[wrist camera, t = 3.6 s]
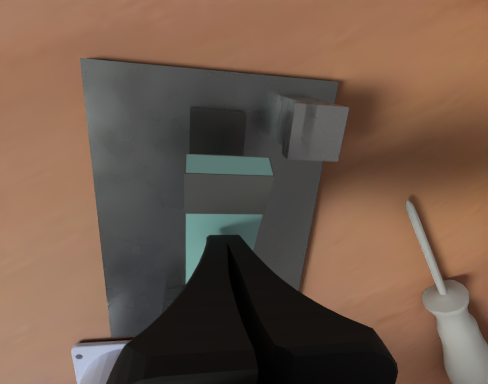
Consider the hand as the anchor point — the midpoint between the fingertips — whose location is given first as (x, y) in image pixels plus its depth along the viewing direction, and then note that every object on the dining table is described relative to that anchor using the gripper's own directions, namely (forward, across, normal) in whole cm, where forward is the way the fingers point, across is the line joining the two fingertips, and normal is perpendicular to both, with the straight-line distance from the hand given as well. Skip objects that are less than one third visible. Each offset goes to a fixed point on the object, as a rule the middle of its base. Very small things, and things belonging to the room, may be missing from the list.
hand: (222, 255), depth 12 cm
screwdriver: (+8, -21, +11) cm, 25 cm away
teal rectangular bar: (+3, 0, +3) cm, 4 cm away
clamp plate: (+8, 0, +2) cm, 8 cm away
